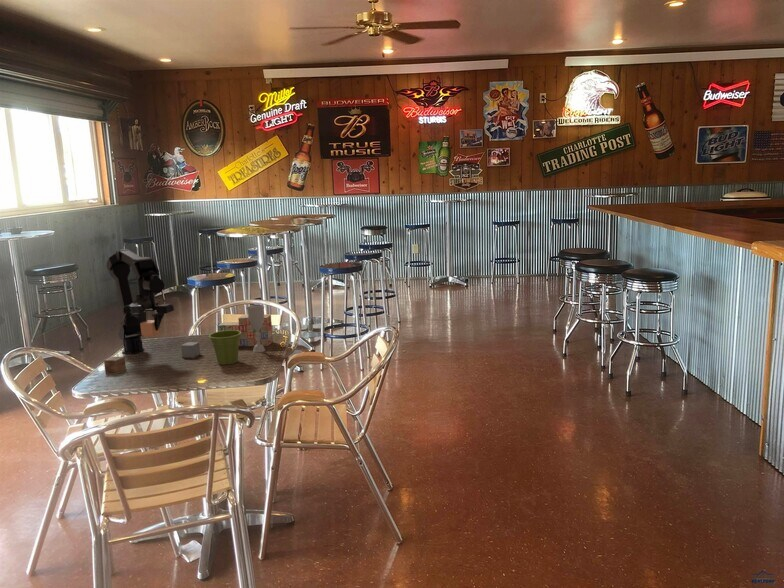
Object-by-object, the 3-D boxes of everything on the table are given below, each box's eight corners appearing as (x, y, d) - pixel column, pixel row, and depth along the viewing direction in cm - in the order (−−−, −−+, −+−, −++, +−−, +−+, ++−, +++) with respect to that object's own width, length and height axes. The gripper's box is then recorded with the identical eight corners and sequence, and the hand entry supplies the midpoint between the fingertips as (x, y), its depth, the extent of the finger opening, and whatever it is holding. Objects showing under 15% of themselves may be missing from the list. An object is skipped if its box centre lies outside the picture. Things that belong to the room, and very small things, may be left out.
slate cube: (182, 357, 240) (181, 345, 239) (189, 354, 245) (187, 342, 244) (193, 357, 239) (192, 345, 238) (200, 354, 244) (199, 342, 243)
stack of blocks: (219, 346, 254) (216, 318, 252) (224, 343, 261) (222, 315, 258) (269, 346, 252) (266, 317, 250) (273, 342, 259) (271, 313, 256)
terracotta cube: (141, 335, 234) (140, 323, 233) (149, 332, 239) (148, 320, 238) (153, 335, 233) (151, 323, 232) (160, 332, 238) (159, 320, 237)
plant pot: (219, 358, 236) (217, 330, 234) (248, 358, 235) (246, 329, 233) (206, 367, 225) (203, 337, 223) (236, 367, 223) (233, 337, 221)
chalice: (247, 352, 242) (243, 308, 239) (253, 348, 249) (250, 305, 246) (264, 353, 241) (260, 308, 238) (270, 348, 248) (267, 305, 244)
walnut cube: (105, 373, 223) (103, 360, 222) (114, 369, 228) (112, 356, 227) (117, 373, 222) (115, 360, 221) (126, 369, 226) (124, 356, 226)
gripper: (111, 294, 227) (116, 335, 230) (155, 294, 223) (160, 335, 226) (129, 289, 238) (134, 328, 241) (172, 289, 234) (176, 328, 237)
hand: (150, 330), depth 236 cm, fingers closed on terracotta cube, 5 cm apart
